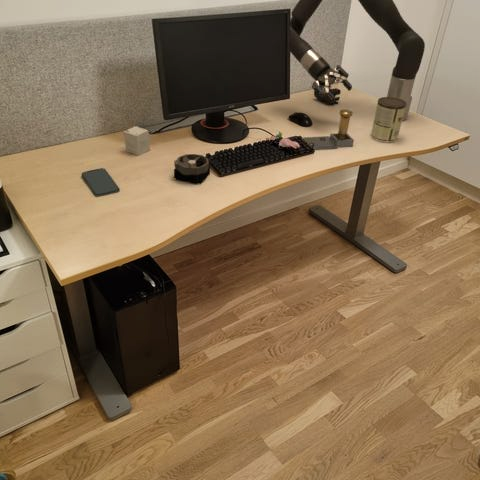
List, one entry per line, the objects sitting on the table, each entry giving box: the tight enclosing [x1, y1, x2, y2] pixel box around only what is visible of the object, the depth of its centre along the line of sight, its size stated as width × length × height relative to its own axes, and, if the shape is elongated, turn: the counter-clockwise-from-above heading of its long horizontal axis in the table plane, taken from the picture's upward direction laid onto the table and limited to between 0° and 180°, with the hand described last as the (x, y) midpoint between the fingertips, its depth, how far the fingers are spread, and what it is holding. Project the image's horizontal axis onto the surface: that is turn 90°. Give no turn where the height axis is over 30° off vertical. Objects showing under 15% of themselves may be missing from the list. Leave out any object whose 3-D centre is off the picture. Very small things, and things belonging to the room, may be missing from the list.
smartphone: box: [81, 167, 121, 198], centre depth 140 cm, size 8×2×15 cm
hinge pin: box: [337, 109, 353, 140], centre depth 169 cm, size 4×4×12 cm
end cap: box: [313, 85, 341, 106], centre depth 207 cm, size 10×7×7 cm
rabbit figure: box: [265, 131, 300, 149], centre depth 165 cm, size 6×6×15 cm
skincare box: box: [123, 125, 151, 156], centre depth 158 cm, size 6×6×7 cm
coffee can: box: [370, 96, 407, 144], centre depth 174 cm, size 10×10×14 cm
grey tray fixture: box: [302, 132, 355, 151], centre depth 170 cm, size 19×9×2 cm, turn 102°
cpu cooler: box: [173, 153, 211, 185], centre depth 145 cm, size 10×6×10 cm
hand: (342, 94), depth 175 cm, fingers open, 8 cm apart
